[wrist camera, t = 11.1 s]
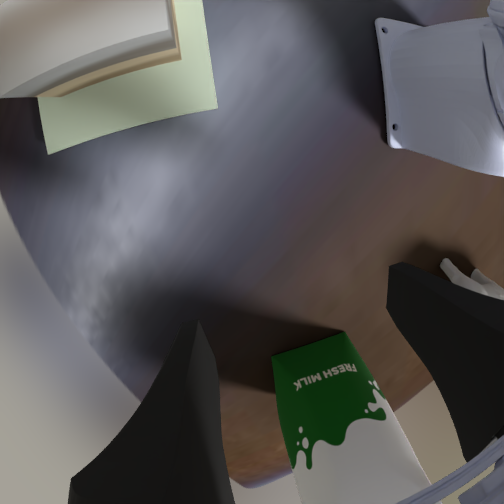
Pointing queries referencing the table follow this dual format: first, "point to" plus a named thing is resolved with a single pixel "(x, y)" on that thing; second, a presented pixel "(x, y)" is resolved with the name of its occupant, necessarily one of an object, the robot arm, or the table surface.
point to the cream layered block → (81, 43)
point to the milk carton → (341, 428)
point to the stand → (137, 91)
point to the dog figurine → (472, 280)
